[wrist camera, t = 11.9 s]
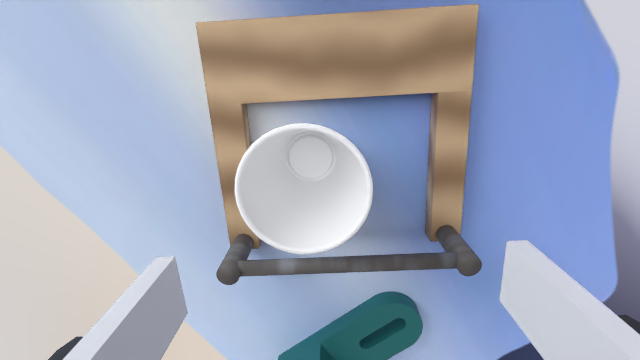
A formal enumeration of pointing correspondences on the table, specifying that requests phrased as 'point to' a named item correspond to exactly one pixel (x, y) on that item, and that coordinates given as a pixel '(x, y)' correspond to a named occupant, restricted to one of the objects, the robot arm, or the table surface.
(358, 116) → the table surface
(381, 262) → the wooden frame with crossbar
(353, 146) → the cup
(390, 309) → the bracket
